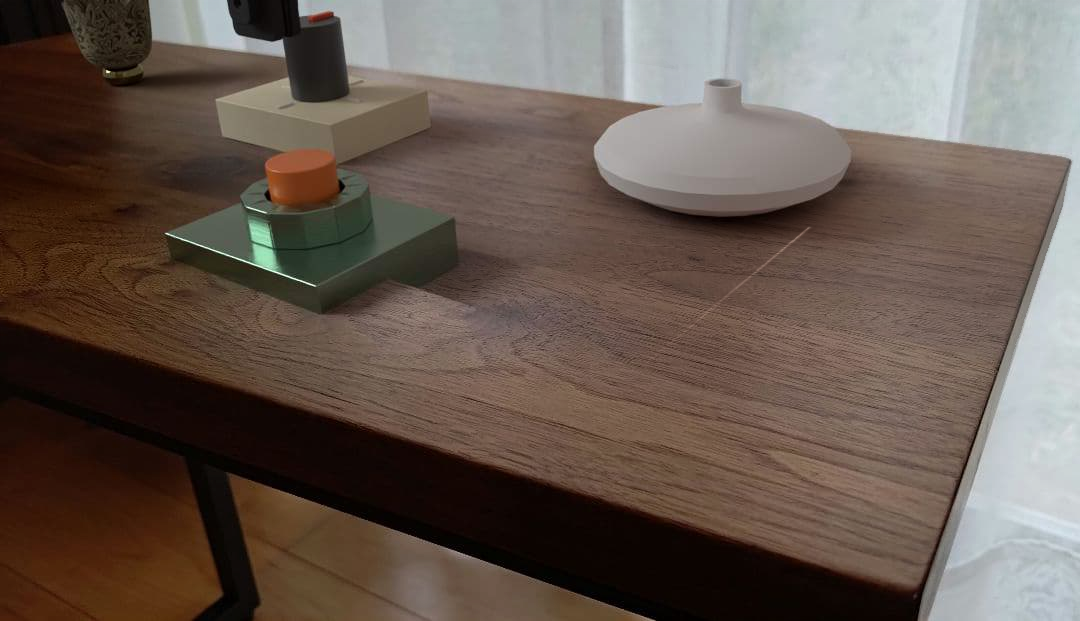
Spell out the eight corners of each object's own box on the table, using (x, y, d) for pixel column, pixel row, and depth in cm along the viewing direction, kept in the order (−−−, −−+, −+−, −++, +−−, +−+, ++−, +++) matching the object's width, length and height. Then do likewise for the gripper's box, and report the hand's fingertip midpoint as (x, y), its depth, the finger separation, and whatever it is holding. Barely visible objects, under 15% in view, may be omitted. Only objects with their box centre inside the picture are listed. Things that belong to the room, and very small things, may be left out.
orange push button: (257, 201, 53) (250, 164, 52) (308, 180, 55) (303, 144, 54) (302, 214, 51) (296, 176, 50) (354, 192, 53) (349, 155, 52)
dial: (319, 105, 74) (307, 25, 71) (279, 97, 76) (266, 20, 73) (361, 90, 77) (352, 13, 74) (322, 83, 79) (311, 8, 76)
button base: (176, 282, 55) (155, 197, 52) (313, 221, 62) (301, 144, 59) (325, 341, 48) (309, 247, 46) (459, 266, 55) (452, 181, 53)
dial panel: (222, 136, 78) (214, 97, 76) (318, 104, 85) (312, 67, 83) (336, 165, 71) (330, 122, 69) (431, 127, 78) (427, 87, 76)
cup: (92, 75, 97) (70, -10, 93) (170, 68, 98) (152, -16, 94) (75, 95, 90) (52, 5, 87) (160, 88, 92) (140, -1, 88)
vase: (772, 267, 53) (781, 141, 50) (543, 206, 62) (538, 95, 59) (887, 179, 64) (901, 70, 61) (678, 138, 73) (680, 41, 70)
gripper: (83, -464, 33) (186, 81, 42) (396, -411, 44) (426, 16, 52) (-29, -435, 37) (86, 57, 46) (283, -393, 48) (328, 1, 56)
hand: (267, 34), depth 49 cm, fingers closed
